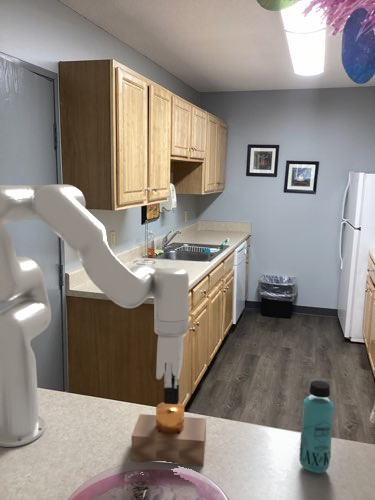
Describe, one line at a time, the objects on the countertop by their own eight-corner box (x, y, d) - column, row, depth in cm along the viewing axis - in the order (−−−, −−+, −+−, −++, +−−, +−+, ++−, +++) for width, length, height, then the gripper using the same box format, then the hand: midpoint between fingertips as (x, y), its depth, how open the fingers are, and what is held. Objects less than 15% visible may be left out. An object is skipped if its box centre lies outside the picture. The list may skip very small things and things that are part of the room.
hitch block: (131, 460, 95) (131, 435, 94) (139, 437, 104) (139, 414, 103) (203, 466, 94) (204, 440, 93) (205, 441, 103) (206, 418, 102)
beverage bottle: (292, 464, 95) (297, 379, 92) (316, 457, 97) (321, 374, 94) (311, 483, 89) (317, 393, 86) (336, 475, 91) (343, 387, 88)
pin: (153, 456, 96) (153, 414, 94) (158, 439, 102) (158, 400, 101) (182, 458, 95) (182, 416, 94) (184, 441, 102) (185, 402, 100)
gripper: (159, 313, 102) (160, 386, 105) (148, 335, 87) (149, 419, 90) (191, 314, 101) (190, 387, 104) (185, 337, 86) (184, 421, 89)
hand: (171, 402), depth 97 cm, fingers closed
